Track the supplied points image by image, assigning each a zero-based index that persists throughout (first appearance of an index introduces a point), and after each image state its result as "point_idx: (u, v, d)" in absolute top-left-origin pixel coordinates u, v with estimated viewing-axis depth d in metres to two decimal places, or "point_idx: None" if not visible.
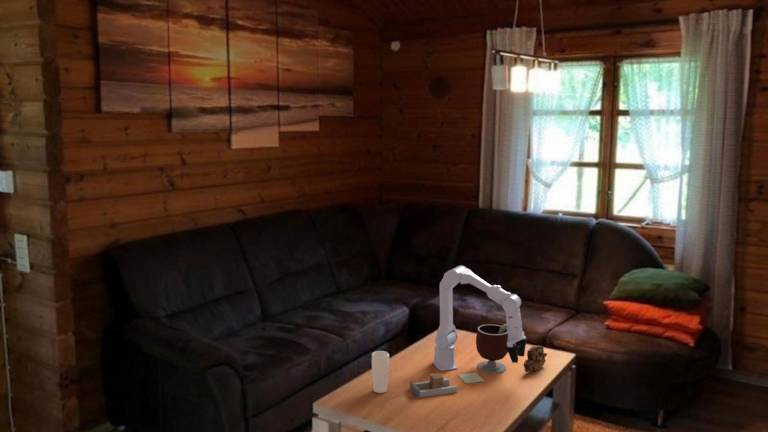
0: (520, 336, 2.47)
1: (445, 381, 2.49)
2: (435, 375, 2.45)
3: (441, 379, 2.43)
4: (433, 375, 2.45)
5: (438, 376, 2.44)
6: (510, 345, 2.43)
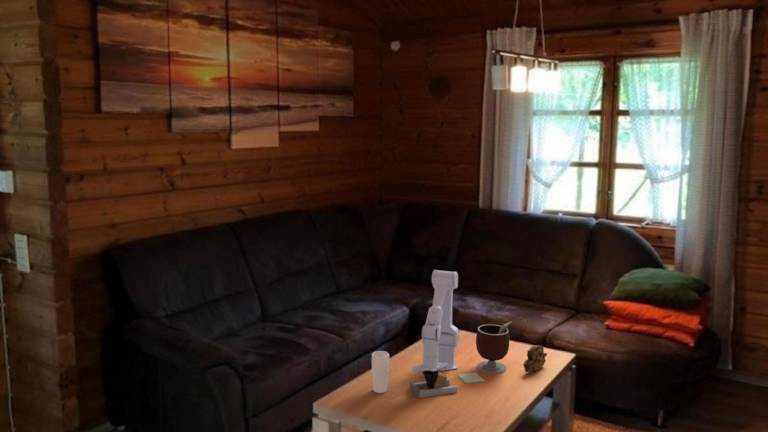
0: (429, 367, 2.40)
1: None
2: (439, 373, 2.46)
3: (444, 378, 2.44)
4: None
5: (442, 375, 2.44)
6: (413, 371, 2.41)
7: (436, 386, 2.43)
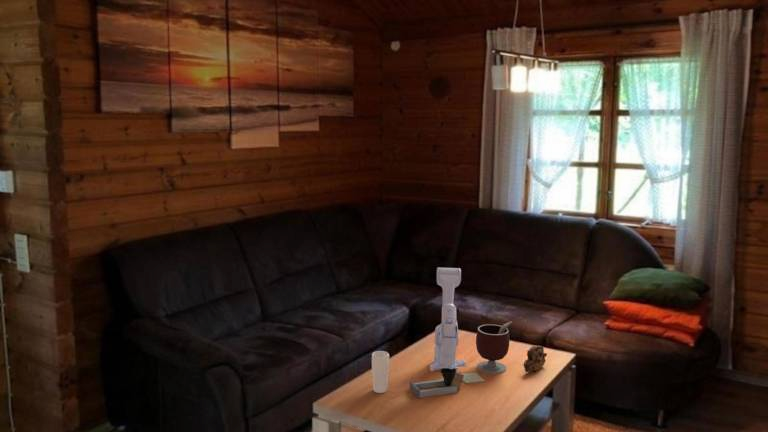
0: (447, 364, 2.42)
1: None
2: (456, 371, 2.48)
3: (461, 376, 2.46)
4: None
5: (459, 373, 2.46)
6: (431, 369, 2.43)
7: (453, 384, 2.45)
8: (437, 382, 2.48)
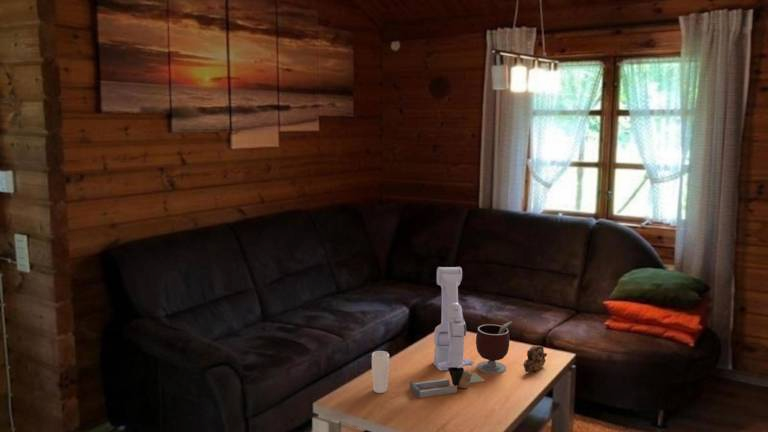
0: (455, 363, 2.44)
1: (445, 381, 2.49)
2: None
3: (469, 375, 2.47)
4: None
5: (467, 372, 2.47)
6: (438, 368, 2.44)
7: (461, 383, 2.46)
8: (437, 382, 2.48)
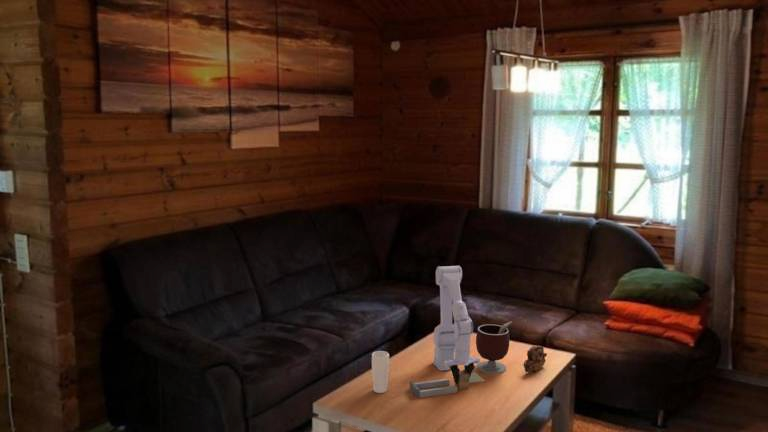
0: (462, 361, 2.45)
1: (445, 381, 2.49)
2: (460, 372, 2.48)
3: (467, 376, 2.46)
4: (459, 372, 2.48)
5: (464, 373, 2.47)
6: (445, 365, 2.45)
7: (461, 385, 2.46)
8: (437, 382, 2.48)
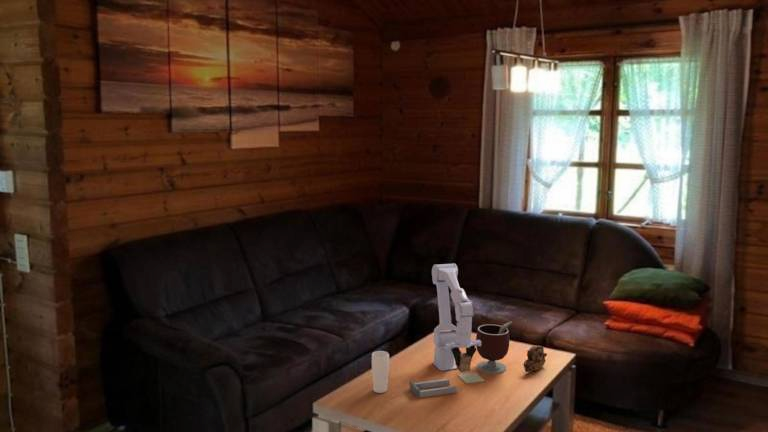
0: (463, 343, 2.44)
1: (445, 381, 2.49)
2: (462, 354, 2.48)
3: (469, 358, 2.46)
4: None
5: (465, 355, 2.47)
6: (446, 347, 2.45)
7: (462, 367, 2.46)
8: (437, 382, 2.48)
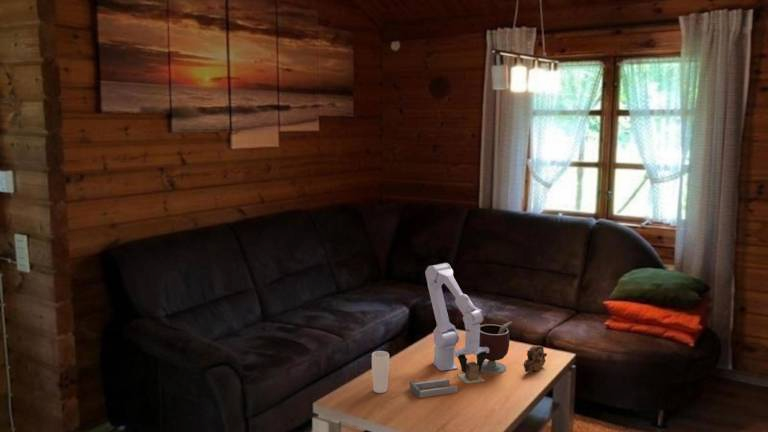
0: (472, 350, 2.52)
1: (445, 381, 2.49)
2: (470, 363, 2.56)
3: (477, 367, 2.54)
4: (469, 363, 2.55)
5: (474, 364, 2.54)
6: (456, 354, 2.52)
7: (470, 376, 2.54)
8: (437, 382, 2.48)
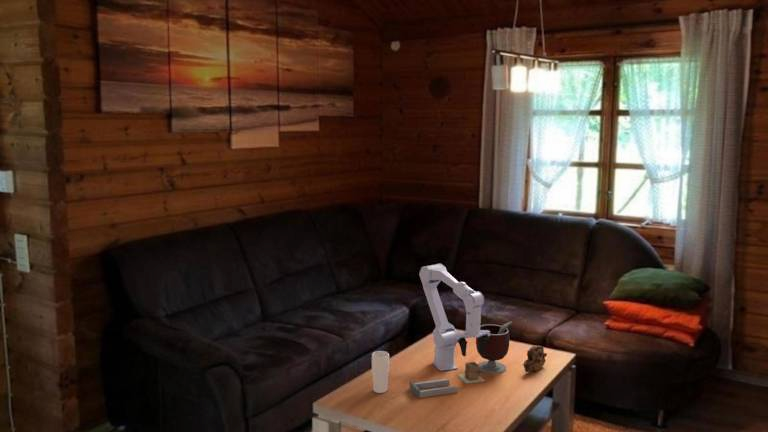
0: (473, 333, 2.51)
1: (445, 381, 2.49)
2: (470, 363, 2.56)
3: (477, 367, 2.54)
4: (469, 363, 2.55)
5: (474, 364, 2.54)
6: (456, 337, 2.51)
7: (470, 376, 2.54)
8: (437, 382, 2.48)
